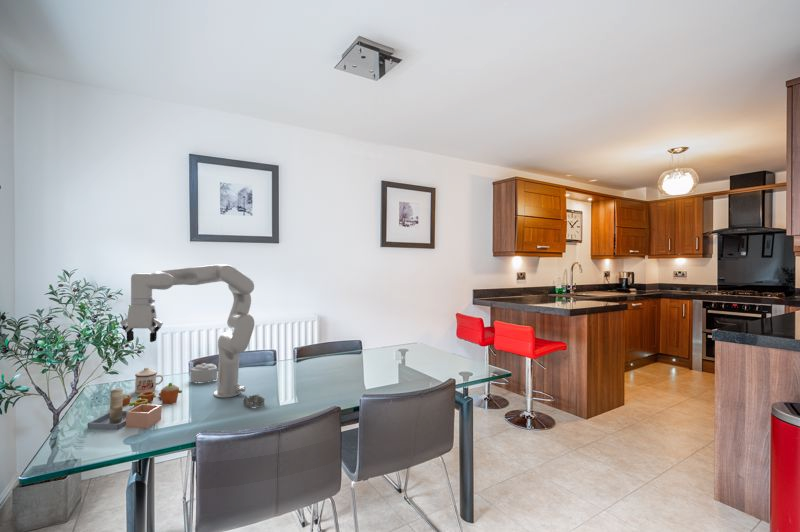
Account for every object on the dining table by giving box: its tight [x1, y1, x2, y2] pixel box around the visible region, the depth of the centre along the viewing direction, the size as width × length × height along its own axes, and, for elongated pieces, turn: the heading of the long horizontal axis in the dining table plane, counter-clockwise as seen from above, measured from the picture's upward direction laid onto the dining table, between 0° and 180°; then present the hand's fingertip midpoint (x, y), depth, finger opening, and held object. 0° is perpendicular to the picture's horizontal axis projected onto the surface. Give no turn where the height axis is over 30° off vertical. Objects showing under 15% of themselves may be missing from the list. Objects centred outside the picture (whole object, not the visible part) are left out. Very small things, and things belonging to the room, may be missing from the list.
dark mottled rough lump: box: [242, 393, 266, 409], centre depth 179 cm, size 11×8×4 cm
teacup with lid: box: [134, 367, 164, 394], centre depth 191 cm, size 12×9×12 cm
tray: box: [87, 409, 129, 431], centre depth 152 cm, size 12×13×3 cm
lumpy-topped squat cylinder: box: [189, 362, 218, 384], centre depth 210 cm, size 10×13×9 cm
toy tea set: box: [122, 382, 183, 408], centre depth 174 cm, size 26×16×10 cm, turn 138°
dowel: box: [109, 388, 124, 424], centre depth 152 cm, size 4×4×13 cm
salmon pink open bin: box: [125, 403, 163, 429], centre depth 152 cm, size 9×9×7 cm
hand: (141, 341), depth 162 cm, fingers open, 9 cm apart
